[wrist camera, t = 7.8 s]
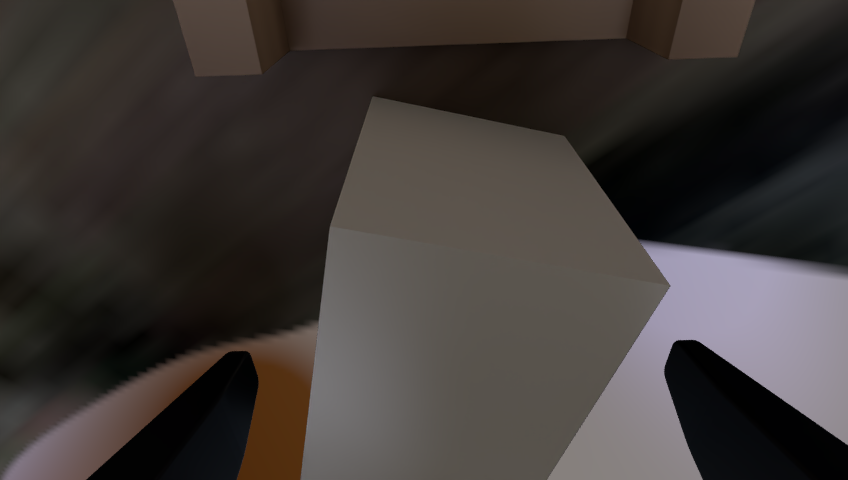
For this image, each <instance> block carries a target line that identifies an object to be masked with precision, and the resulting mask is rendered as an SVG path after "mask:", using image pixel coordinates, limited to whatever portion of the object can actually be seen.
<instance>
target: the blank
mask: <svg viewBox="0 0 848 480" xmlns="http://www.w3.org/2000/svg"><path fill="white" fill-rule="evenodd" d="M669 287H670V285H669V283H668V282H667V280H666V279H665V278H664V276H663V275H662V273H661V272H660V270H659V269H658V268H657V266H656V265H655V263H654V262H653V260H652V259H651V258H650V256H649V255H648V253H647V252H646V251H645V249H644V248H643V246H642V245H641V244H640V242H639V241H638V239H637V238H636V236H635V235H634V234H633V232H632V231H631V229H630V228H629V227H628V225H627V224H626V222H625V221H624V219H623V218H622V217H621V215H620V214H619V212H618V211H617V210H616V208H615V207H614V205H613V204H612V202H611V201H610V200H609V198H608V197H607V195H606V194H605V193H604V191H603V190H602V188H601V187H600V185H599V184H598V183H597V181H596V180H595V178H594V177H593V176H592V174H591V173H590V171H589V170H588V169H587V167H586V166H585V164H584V163H583V161H582V160H581V159H580V157H579V156H578V154H577V153H576V152H575V150H574V149H573V147H572V146H571V144H570V143H569V142H568V140H567V139H566V137H565V136H562V135H557V134H553V133H548V132H543V131H538V130H533V129H529V128H524V127H519V126H514V125H509V124H505V123H500V122H495V121H490V120H485V119H480V118H476V117H471V116H466V115H461V114H456V113H452V112H447V111H442V110H437V109H432V108H428V107H423V106H418V105H413V104H408V103H403V102H399V101H394V100H389V99H384V98H379V97H375V96H372V99H371V102H370V105H369V108H368V111H367V114H366V117H365V120H364V123H363V126H362V129H361V133H360V136H359V139H358V142H357V145H356V148H355V151H354V154H353V157H352V160H351V163H350V166H349V169H348V172H347V175H346V178H345V181H344V185H343V188H342V191H341V194H340V197H339V200H338V203H337V206H336V209H335V212H334V215H333V218H332V221H331V224H330V229H329V238H328V247H327V255H326V264H325V273H324V281H323V290H322V299H321V307H320V316H319V325H318V334H317V343H316V352H315V360H314V368H313V378H312V386H311V395H310V403H309V412H308V421H307V429H306V438H305V446H304V455H303V464H302V472H301V480H547V479H548V477H549V475H550V474H551V472H552V471H553V469H554V467H555V466H556V464H557V463H558V461H559V460H560V458H561V456H562V455H563V454H564V452H565V450H566V449H567V447H568V446H569V444H570V443H571V441H572V439H573V438H574V436H575V435H576V433H577V432H578V430H579V428H580V427H581V425H582V423H583V422H584V420H585V419H586V417H587V416H588V414H589V413H590V411H591V410H592V408H593V406H594V405H595V403H596V402H597V400H598V399H599V397H600V395H601V394H602V392H603V391H604V389H605V388H606V386H607V385H608V383H609V381H610V380H611V378H612V377H613V375H614V373H615V372H616V370H617V369H618V367H619V366H620V364H621V363H622V361H623V359H624V358H625V356H626V355H627V353H628V352H629V350H630V348H631V347H632V345H633V344H634V342H635V340H636V339H637V337H638V336H639V334H640V333H641V331H642V329H643V328H644V326H645V325H646V323H647V322H648V320H649V319H650V317H651V315H652V314H653V312H654V311H655V309H656V308H657V306H658V304H659V303H660V301H661V300H662V298H663V297H664V295H665V294H666V292H667V290H668V289H669Z"/></svg>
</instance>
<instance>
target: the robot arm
mask: <svg viewBox="0 0 848 480" xmlns="http://www.w3.org/2000/svg"><path fill="white" fill-rule="evenodd" d="M664 370H665V371H664V374H665V379H666V381H667V385H668V388H669V391H670V394H671V397H672V400H673V403H674V406H675V409H676V412H677V415H678V418H679V421H680V424H681V427H682V430H683V433H684V436H685V439H686V441H687V444H688V447H689V449H690V452H691V454H692V456H693V459H694V461H695V463H696V465H697V467H698V470H699V472H700V474H701V476H702V479H703V480H848V445H847V444H845V443H844V442H842V441H841V440H839V439H838V438H836V437H835V436H834V435H832V434H831V433H829V432H828V431H826V430H825V429H824V428H822V427H820V426H819V425H818V424H816V423H815V422H814V421H812V420H811V419H809V418H808V417H806V416H805V415H804V414H802V413H801V412H799V411H798V410H796V409H795V408H793V407H792V406H791V405H789V404H788V403H786V402H785V401H783V400H782V399H780V398H779V397H778V396H776V395H775V394H773V393H772V392H771V391H769V390H768V389H766V388H765V387H763V386H762V385H760V384H759V383H758V382H756V381H754V380H753V379H752V378H750V377H749V376H747V375H746V374H745V373H743V372H742V371H740V370H739V369H737V368H736V367H735V366H733V365H732V364H730V363H729V362H727V361H726V360H725V359H723V358H722V357H720V356H719V355H717V354H716V353H714V352H713V351H712V350H710V349H709V348H707V347H706V346H704V345H703V344H702V343H700V342H698V341H696V340H678V341H676V342H674V343H673V345H672V348H671V351H670V354H669V356H668V359H667V362H666V365H665V369H664ZM257 390H258V375H257V372H256V369H255V366H254V363H253V361H252V358H251V355H250V353H248V352H247V351H232V352H228V353H227V354H225V355H224V356H223V357H222V358H221V359H220V360H219V361H218V362H217V363H215V364H214V365H213V366H212V367H211V368H210V369H209V370H208V371H207V372H205V373H204V374H203V375H202V376H201V377H200V378H199V379H198V380H196V381H195V382H194V383H193V384H192V385H191V386H190V387H189V388H188V389H187V390H185V391H184V392H183V393H182V394H181V395H180V396H179V397H178V398H176V399H175V400H174V401H173V402H172V403H171V404H170V405H169V406H168V407H167V408H165V409H164V410H163V411H162V412H161V413H160V414H159V415H158V416H156V417H155V418H154V419H153V420H152V421H151V422H150V423H149V424H148V425H146V426H145V427H144V428H143V429H142V430H141V431H140V432H139V433H138V434H137V435H135V436H134V437H133V438H132V439H131V440H130V441H129V442H128V443H126V445H124V446H123V447H122V448H121V449H120V450H119V451H118V452H116V453H115V454H114V455H113V456H112V457H111V458H110V459H109V460H108V461H106V463H104V464H103V465H102V466H101V467H100V468H99V469H98V470H97V471H95V472H94V473H93V474H92V475H91V476H90V477H89V478H88V479H87V480H237V477H238V473H239V470H240V467H241V464H242V460H243V457H244V453H245V448H246V444H247V439H248V434H249V429H250V425H251V420H252V415H253V410H254V405H255V400H256V395H257Z"/></svg>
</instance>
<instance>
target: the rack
mask: <svg viewBox="0 0 848 480" xmlns="http://www.w3.org/2000/svg"><path fill="white" fill-rule="evenodd" d="M173 2H174V6H175V9H176V12H177V16H178V19H179V22H180V26H181V29H182V33H183V36H184V39H185V43H186V46H187V50H188V53H189V56H190V60H191V63H192V66H193V70H194V73H195V77H204V76H232V75H259V74H263V73H264V72H265V71H267V70H268V69H269V68H270V67H271V66H272V65H274V64H275V63H276V62H277V61H278V60H279V59H281V58H282V57H283V56H284V55H285V54H286V53H288V52H289V51H299V50H325V49H352V48H379V47H406V46H432V45H459V44H486V43H513V42H539V41H566V40H593V39H620V38H626V39H628V40H630V41H632V42H634V43H636V44H638V45H640V46H642V47H644V48H646V49H648V50H650V51H652V52H654V53H656V54H658V55H660V56H662V57H664V58H666V59H668V60H670V59H698V58H725V57H738V54H739V50H740V47H741V44H742V41H743V38H744V35H745V32H746V28H747V25H748V22H749V19H750V16H751V13H752V10H753V6H754V3H755V0H173Z"/></svg>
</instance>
